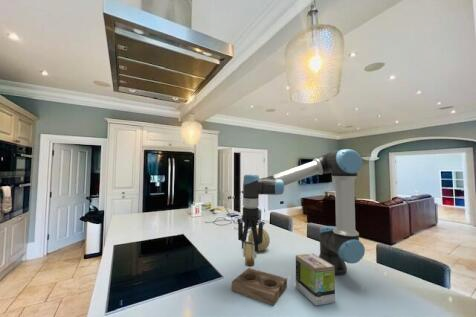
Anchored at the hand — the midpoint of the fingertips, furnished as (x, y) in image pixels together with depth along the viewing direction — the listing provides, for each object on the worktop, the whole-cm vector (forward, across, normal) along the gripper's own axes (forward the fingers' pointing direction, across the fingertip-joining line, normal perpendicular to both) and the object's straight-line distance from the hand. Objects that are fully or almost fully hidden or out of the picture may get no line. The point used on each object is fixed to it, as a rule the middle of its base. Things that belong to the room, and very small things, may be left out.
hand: (249, 257), depth 101 cm
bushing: (+3, 0, 0) cm, 3 cm away
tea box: (+13, +27, +9) cm, 32 cm away
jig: (+13, +5, 0) cm, 14 cm away
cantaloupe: (+13, -16, +43) cm, 48 cm away
